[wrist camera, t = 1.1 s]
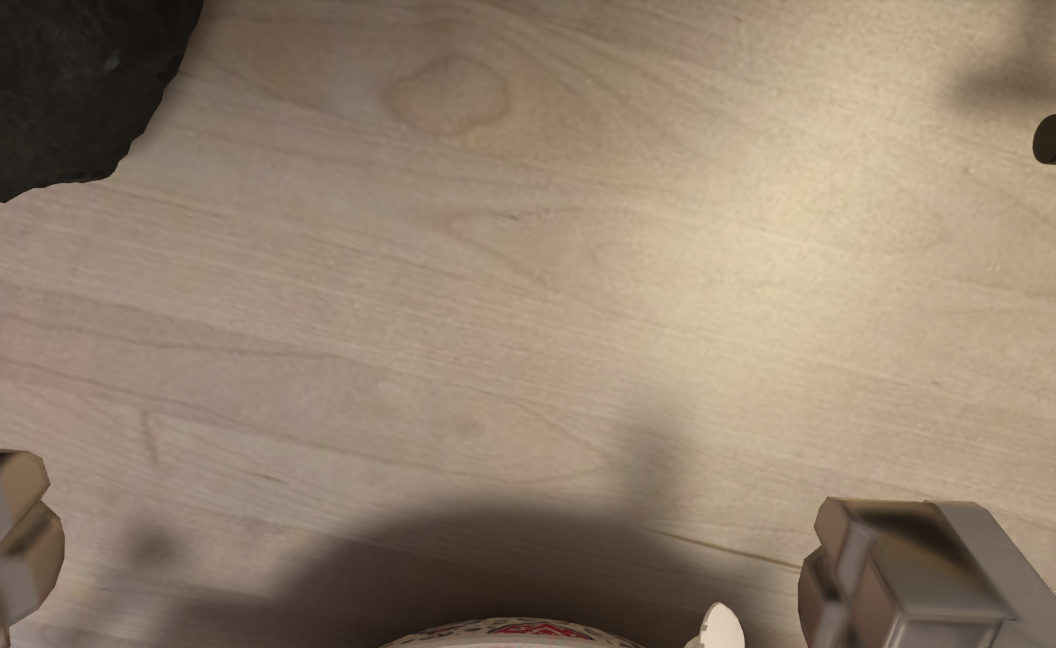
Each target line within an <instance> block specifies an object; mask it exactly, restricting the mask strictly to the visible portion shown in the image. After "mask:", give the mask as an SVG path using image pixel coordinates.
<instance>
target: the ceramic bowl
mask: <svg viewBox="0 0 1056 648" xmlns="http://www.w3.org/2000/svg"><path fill="white" fill-rule="evenodd" d="M379 648H646V647H644V646H642V645H640V644H638V643H635V642H633V641H631V640H628V639H625V638H623V637H620V636H617V635H615V634H612V633H609V632H606V631H602V630H599V629H595V628H592V627H588V626H584V625H579V624H575V623H570V622H565V621H557V620H550V619H541V618H525V617H497V618H485V619H474V620H468V621H461V622H455V623H450V624H446V625H442V626H438V627H433V628H430V629H426V630H423V631H420V632H417V633H414V634H411V635H407V636H405V637H402V638H400V639H398V640H395V641H393V642H390V643H388V644H386V645H383V646H381V647H379Z"/></svg>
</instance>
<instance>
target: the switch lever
mask: <svg viewBox="0 0 1056 648" xmlns="http://www.w3.org/2000/svg"><path fill="white" fill-rule="evenodd" d="M1033 153H1034V156H1035V158H1036V159H1037V160H1038V161H1039V162H1040V163H1042V164H1050V165H1056V114H1053V115H1050V116H1048V117H1046V118H1045V119H1044V120H1043V121H1042V122H1041V123H1040V124H1039V126H1038V128H1037V130H1036V132H1035V135H1034V138H1033Z"/></svg>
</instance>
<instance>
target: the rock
mask: <svg viewBox="0 0 1056 648" xmlns="http://www.w3.org/2000/svg"><path fill="white" fill-rule="evenodd" d="M203 3H204V0H0V202H1V203H6V202H8V201H9V200H11V199H13V198H15V197H16V196H18V195H20V194H22V193H23V192H26V191H28V190H30V189H33V188H45V187H48V186H50V185H53V184H59V183H73V182H78V183H85V182H90V181H95V180H102V179H104V178H107V177H109V176H110V175H111V174H112V173H113V172H114V171H115V169H116V167H117V165H118V162H119V161H120V160H121V159H122V158H124V157H125V156H126V155H127V154H128V151H129V148H130V145H131V142H132V141H133V140H135V139H136V138H137V137H139V136H140V135H141V134H143V133H144V131H145V129H146V126H147V124H148V122H149V120H150V118H151V117H152V115H153V114H154V112H155V110H156V109H157V107H158V106H159V104H160V102H161V100H162V96H163V92H164V89H165V88H166V87H167V85H168V84H169V82H170V81H171V80H172V79H173V78H174V77H175V76H176V74H177V72H178V69H179V67H180V64H181V62H182V59H183V56H184V53H185V50H186V46H187V43H188V40H189V37H190V35H191V33H192V31H193V29H194V27H195V26H196V24H197V22H198V19H199V16H200V14H201V11H202V7H203Z"/></svg>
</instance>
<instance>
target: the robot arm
mask: <svg viewBox="0 0 1056 648" xmlns="http://www.w3.org/2000/svg"><path fill="white" fill-rule="evenodd" d="M49 486H50V481H49V478H48V475H47V472H46V469H45V466H44V463H43V460H42V458H41V457H39V456H37V455H35V454H33V453H31V452H29V451H22V450H10V449H0V648H9V647H10V646H11V643H10V633H9V626H11V625H13V624H14V623H16V622H18V621H19V620H21V619H23V618H25V617H26V616H28V615H30V614H31V613H33V612H35V611H36V610H38V609H39V608H40V606H41V605H42V603H43V602H44V601H45V599H46V598H47V596H48V595H49V594H50V592H51V591H52V589H53V588H54V587H55V584H56V581H57V578H58V575H59V573H60V570H61V567H62V564H63V561H64V553H65V535H64V531H63V527H62V524H61V520H60V517H58V516H57V515H56V514H55V513H54V512H53V511H52V510H51V509H50V508H49V507H48V506H46V505H45V504H44V503H43V502H42V501H41V498H42V497H43V495H44V494H45V492H46V491H47V489H48V487H49ZM814 529H815V531H816V533H817V536H818V538H819V540H820V542H821V544H822V545H821V546H820V547H819V548H818V549H816V550H815V551H814V552H813V553H811V554H810V555H809V556H808V557H806V558H805V559H804V562H803V566H802V570H801V574H800V578H799V582H798V612H799V618H800V623H801V628H802V632H803V634H804V637H805V640H806V643H807V646H808V648H1056V596H1055V595H1054V593H1053V592H1052V591H1051V590H1050V588H1049V587H1048V586H1047V585H1046V583H1045V582H1044V581H1043V579H1042V578H1041V577H1040V576H1039V574H1038V573H1037V572H1036V571H1035V569H1034V568H1033V567H1032V566H1031V564H1030V563H1029V562H1028V561H1027V559H1026V558H1025V557H1024V556H1023V554H1022V553H1021V552H1020V550H1019V549H1018V548H1017V547H1016V545H1015V544H1014V543H1013V542H1012V540H1011V539H1010V538H1009V537H1008V535H1007V534H1006V533H1005V532H1004V530H1003V529H1002V528H1001V527H1000V525H999V524H998V523H997V521H996V520H995V519H994V518H993V516H992V515H991V514H990V513H989V511H988V510H987V509H985V508H984V507H982V506H980V505H978V504H977V503H975V502H961V501H929V500H925V501H923V502H917V501H898V500H879V499H859V498H840V497H827V498H826V500H825V501H824V502H823V504H822V505H821V506H820V508H819V511H818V514H817V517H816V521H815V524H814Z"/></svg>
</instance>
